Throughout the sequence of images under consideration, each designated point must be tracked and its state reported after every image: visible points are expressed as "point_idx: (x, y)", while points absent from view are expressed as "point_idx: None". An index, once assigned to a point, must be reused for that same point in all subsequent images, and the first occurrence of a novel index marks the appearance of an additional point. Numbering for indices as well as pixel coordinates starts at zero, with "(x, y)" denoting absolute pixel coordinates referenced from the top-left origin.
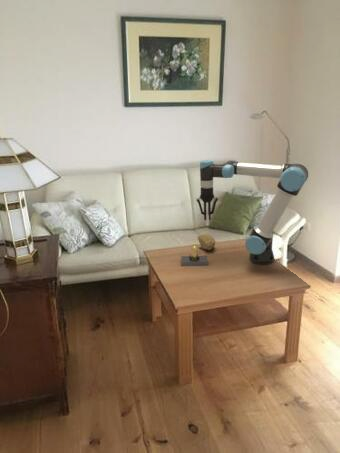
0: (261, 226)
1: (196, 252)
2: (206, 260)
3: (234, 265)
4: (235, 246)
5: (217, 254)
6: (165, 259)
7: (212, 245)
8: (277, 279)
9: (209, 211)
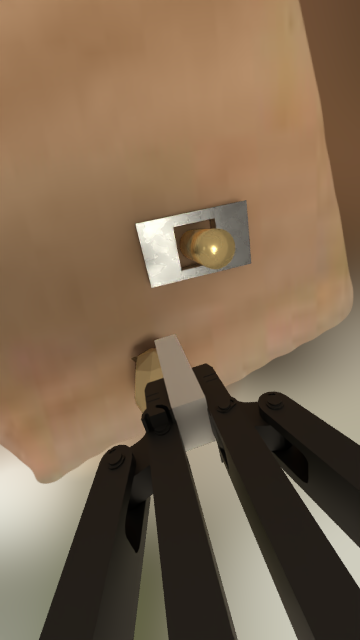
0: None
1: (196, 234)
2: (144, 235)
3: (19, 242)
4: (64, 420)
5: (116, 338)
6: (298, 255)
7: (139, 361)
8: None
9: (171, 466)
